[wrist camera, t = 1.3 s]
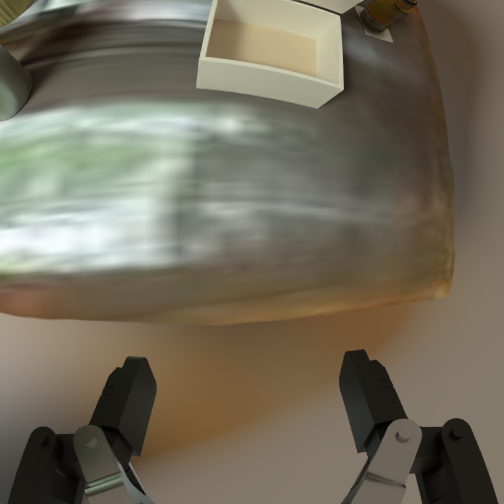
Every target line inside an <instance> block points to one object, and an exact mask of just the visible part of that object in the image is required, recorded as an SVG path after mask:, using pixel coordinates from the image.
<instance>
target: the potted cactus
mask: <svg viewBox="0 0 504 504" xmlns="http://www.w3.org/2000/svg"><path fill="white" fill-rule="evenodd" d="M32 2H33V0H0V28H1V27H4V26H6V25H8V24H9V23H11V22H12V21H14V20H15V19H16V18H18V17H19V16H20V15H21V14H22V13H23V12H24V11H25V10H26V9H27V8H28V7H29V6H30V4H31V3H32Z"/></svg>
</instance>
